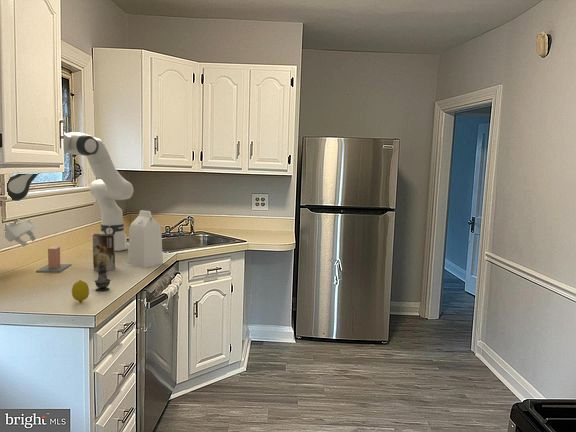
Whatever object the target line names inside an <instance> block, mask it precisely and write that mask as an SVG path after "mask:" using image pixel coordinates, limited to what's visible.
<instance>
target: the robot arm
mask: <svg viewBox="0 0 576 432" xmlns="http://www.w3.org/2000/svg"><path fill="white" fill-rule="evenodd" d="M65 154H71V155H75V156H85V157H86V159H87V161H88V164H89V166H90V169H91V170H92V174H93V175H94V176H95V177H96V178H98V179H95V180H93V181H92V182H91V183H90V186H89V191H90V194H91V195H92V196H93V197H94V199H96V201H97V203H98V206H99V208H100V215H101V216H100V218H101V224H100V233H99V232H98V234H114V237H115V252H119V251H124V250H125V251H126V250H127V251H128V246H129V240H128V238H127V235H126V232H125V231H124V230H125V224H124V220H123V219H124V218H123V217H124V216H123V209H122V208H121V207H120V206H119V205H118V204H117V202H116V200H117V201H125V200H128V199H130V198H132V197H133V194H134V191H135V190H134V186H133V184H132V183H131V182H130V181H128V180H127V179H125V178H124V177H123V176H122V175H121V174H120V172H119V171H118V170H117V169H116V167H115V165H114V162H113V160H112V158H111V156H110V153H109V151H108V149H107V147H106V146H105V144H104V143H103V140H101V139H100V138H98V137H93V135H90V134H86V133H83V132H70V131H69V132H68V131H67V132H64V155H65ZM38 175H40V173H38V174H18V173H16V174H15V175H12V176H10V177H9V178H10V179H9V181H8V183H7V192H8V195H9V196H10V197H11V198H12V200H15V201H20V200H23V199H24V200H25V198H26V196H27V195H28V193H29V191H30V186H31V184H32V182H33V181H34V180H35V179H36V178H37V176H38ZM24 200H23V201H24ZM18 221H20V219H17V220H15V221H14V223H7V224H5V230H4V231H6V232H5V237H4V238H5V239H6V241H8V242H10V243H12V242H13V241H15V242H16V243H18V244H19V245H21V246H22V247H24V248H25V247H26V246H27V245H28V242H27V241H26V240H24V239H23V238H22V236H24V235H28V236H29V238H30V240H31V241H32V242H34V241H36V239H37V237H36V236H35V234H34V231H33V230H34V229H35V225H34V224H33V222H32V221H31V220H30V219H29V220H28V222H26V223H18V224H16V222H18Z"/></svg>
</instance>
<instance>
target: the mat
mask: <svg viewBox="0 0 576 432" xmlns="http://www.w3.org/2000/svg"><path fill="white" fill-rule="evenodd" d="M71 266H72V263H60V267H58V268H48V264H47V265H44V266H43V267H41V268H39V269H36V272H35V273H61V272H63V271H65V270H67V269H68V268H69V267H71Z"/></svg>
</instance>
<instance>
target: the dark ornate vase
mask: <svg viewBox="0 0 576 432" xmlns="http://www.w3.org/2000/svg"><path fill="white" fill-rule="evenodd" d="M107 272H108V270H106V263H105V262H104V261H103V260H101V262H100V263H99V264H98V271H97V273H98V276H97V278H96V279H95V280H94V284H95V287H97V288H96V289H95V292H97V291H98V293H99V292H100V293H101V292H102V293H103V292H108V291H111V288H110V287H109V286H110V284H111V281H112V280H111V279H109V278H108V277H107V276H108V274H107Z"/></svg>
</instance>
